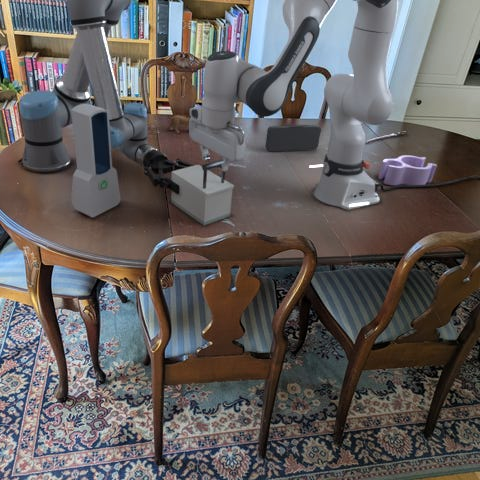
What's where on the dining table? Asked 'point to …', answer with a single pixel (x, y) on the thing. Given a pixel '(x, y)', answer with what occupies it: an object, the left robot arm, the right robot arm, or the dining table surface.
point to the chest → (201, 203)
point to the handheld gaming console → (292, 137)
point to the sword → (384, 137)
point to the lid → (204, 178)
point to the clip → (406, 171)
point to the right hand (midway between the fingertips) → (214, 165)
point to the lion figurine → (179, 121)
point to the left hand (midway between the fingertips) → (192, 185)
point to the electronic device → (93, 162)
